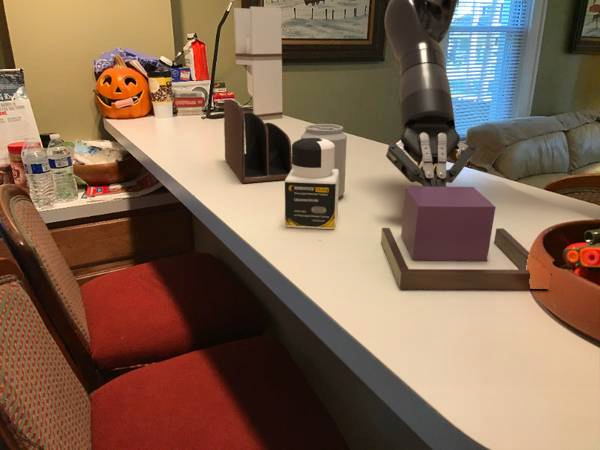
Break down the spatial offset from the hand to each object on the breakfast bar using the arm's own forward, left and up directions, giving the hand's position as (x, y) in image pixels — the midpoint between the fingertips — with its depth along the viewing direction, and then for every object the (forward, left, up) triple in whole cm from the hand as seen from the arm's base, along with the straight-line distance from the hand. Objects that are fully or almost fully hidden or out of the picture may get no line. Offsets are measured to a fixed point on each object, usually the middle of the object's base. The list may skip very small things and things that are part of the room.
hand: (436, 207), depth 64 cm
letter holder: (+28, -35, -4) cm, 45 cm away
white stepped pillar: (+33, -107, -4) cm, 112 cm away
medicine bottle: (+17, -5, -4) cm, 18 cm away
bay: (0, +9, -4) cm, 10 cm away
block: (0, +5, -4) cm, 6 cm away
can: (+15, -17, -4) cm, 23 cm away
